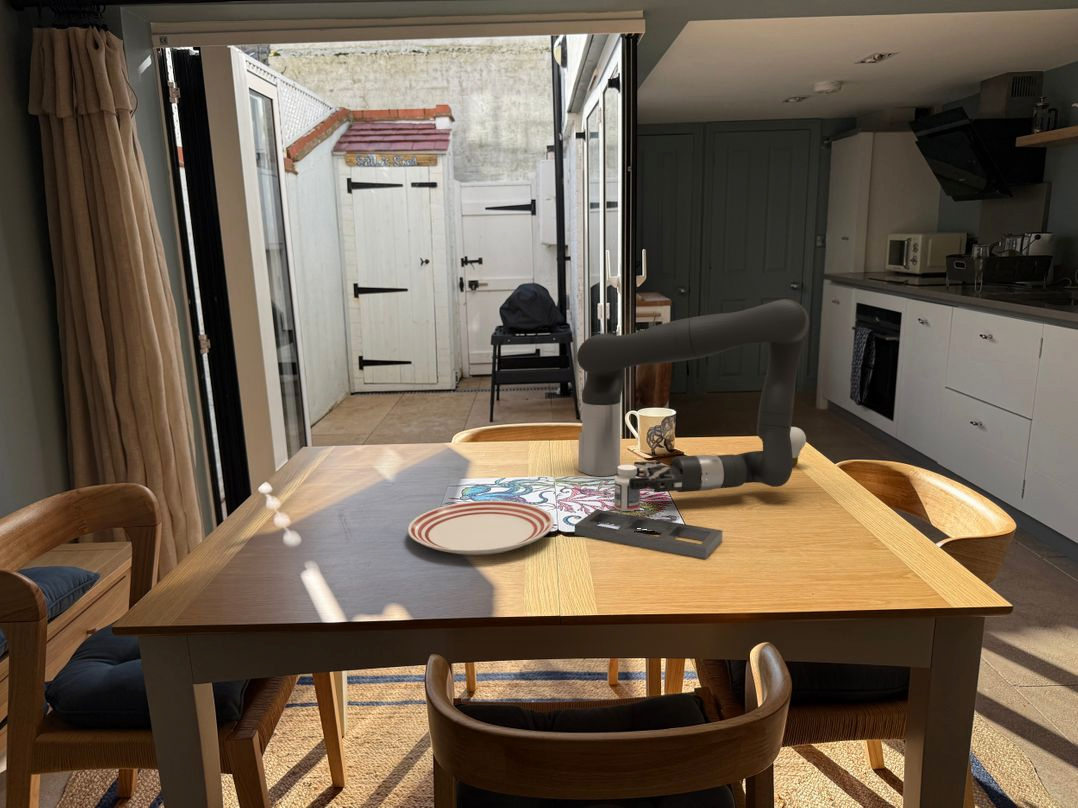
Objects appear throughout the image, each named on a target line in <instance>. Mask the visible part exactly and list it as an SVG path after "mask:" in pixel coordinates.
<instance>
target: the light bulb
mask: <svg viewBox="0 0 1078 808" xmlns="http://www.w3.org/2000/svg"><path fill="white" fill-rule="evenodd" d="M790 428H791V431H790V439H791V445H792V455H793V468H794V467H796V466H797V465H798V461H799V456H800V454H801V450H802V449H803V448H804V447H805V445H806V442H807V435H806V434H805V432H804V431H803V430H802V429H801V428H799V427H796V426H791V427H790Z"/></svg>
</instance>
